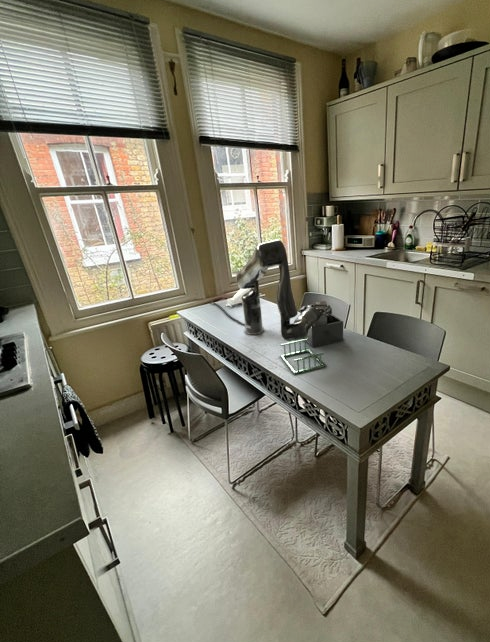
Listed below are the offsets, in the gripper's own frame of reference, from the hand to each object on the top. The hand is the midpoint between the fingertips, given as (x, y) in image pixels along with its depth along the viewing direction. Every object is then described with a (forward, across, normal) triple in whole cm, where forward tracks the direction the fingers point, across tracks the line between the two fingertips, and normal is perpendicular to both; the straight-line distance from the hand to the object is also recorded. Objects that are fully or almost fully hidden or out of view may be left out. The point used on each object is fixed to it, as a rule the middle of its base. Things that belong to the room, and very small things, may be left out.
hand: (320, 306), depth 154 cm
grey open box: (-2, 0, +16) cm, 16 cm away
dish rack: (-28, -1, +16) cm, 32 cm away
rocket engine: (+36, +72, +16) cm, 82 cm away
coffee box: (-2, 0, +14) cm, 15 cm away
